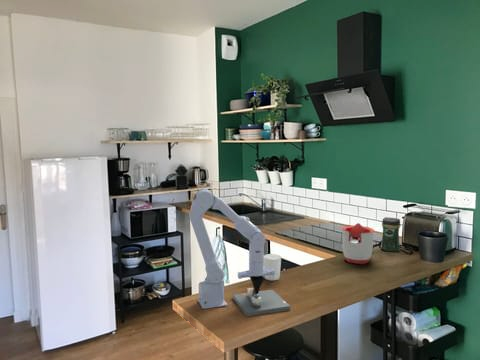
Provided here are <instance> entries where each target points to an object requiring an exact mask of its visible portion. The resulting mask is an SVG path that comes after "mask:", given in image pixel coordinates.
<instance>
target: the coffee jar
mask: <svg viewBox="0 0 480 360" xmlns="http://www.w3.org/2000/svg"><path fill="white" fill-rule="evenodd" d="M400 219H401V218H395V217H387V216H385V217H383V219H382V222H381V227H382V238H381V246H380V248H381V250H382V249H383V250H382V251H386V250H387V252H393V251H394V252H399V251H400V236H399V235H400V228H401V220H400ZM394 252H393V253H394Z"/></svg>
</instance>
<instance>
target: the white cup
mask: <svg viewBox="0 0 480 360" xmlns="http://www.w3.org/2000/svg"><path fill="white" fill-rule="evenodd" d="M281 264H282V256H281V255H279V254H278V253H277V254H276V253H269V254H264V269H274V270H275V276H272V275H268V276H264V279H265V280H268V281H278V280H279V279H280V277H281V276H280V275H281V266H282V265H281Z"/></svg>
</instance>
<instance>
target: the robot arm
mask: <svg viewBox="0 0 480 360" xmlns="http://www.w3.org/2000/svg"><path fill="white" fill-rule="evenodd" d="M210 208H211V209H212V210H218V211H220V212H221V213H222V214H223V215H224V216H225V217H227V218H228V219H229V220H231V221H232V223H233V228H234V229H235V230H236V231H237V232H238V233H240V234H241V235H242V236H243V237H244V238H246V239H247V240H248V241H249V248H248V249H249V250H248V270H244V271H240V272H239V271H238V272H237V278H238V279H239V280H240V279H244V278H245V279H246V278H249V279H250V281H251V283H252V286H253V288H254V290H255V292H256V293H258V292H259V291H260V288H261V287H262V284H263V282H264V281H265V280H264V279H265V276H268V275H272V276H275V270H274V269H264V255H265V249H264V248H265V247H264V246H265V244H266V241H267V239H266V236H265V234H264V233H263V232H262V231H261V230H260V228H259V226H257V225H255V224H254V223H252V221H250V220H251V219H250V218H249V217H248V216H245V215H239V214H237V213H236V212H235V211H234V210H233V209H232V208H231V207H230V206H229V204H227V203H226V202H225V201H224V200H223V199H222V198H220V196H218V195H216V194H215V193H212V192H211V190H210V189H207V188H205V187H204V188H199V189H198V190H197V191H196V192H195V194H194V196H193V198H192V203H191V206H190V210H189V213H188V218H189V220H190V224H191V226H192V229H193V232H194V234H195V237H196V240H197V243H198V246H199V249H200V252H201V255H202V258H203V260H204V261H203V262H204V264H205V267H204V268H205V272H206V276H205V278H204V281H201V282H199V283H198V300H197V301H198V303H199V305H200V306H201V308H202V309H204V310H206V309H212V308H219V307H227V306H228V303H227V302H226V300H225V292H224V291H225V290H224V289H225V279H224V277H225V273H224V271H223V268H222V264H221V262H219V260H217V257H216V255H215V252H214V251H215V250H214V248H213V245H212V242H211V239H210V237H209V233H208V230H207V228H206V225H205V222H204V219H203V217H204V215H205V213H206V212H207V211H208V210H209V209H210Z"/></svg>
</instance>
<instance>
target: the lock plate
mask: <svg viewBox="0 0 480 360" xmlns="http://www.w3.org/2000/svg"><path fill="white" fill-rule="evenodd" d="M259 296H261V297H262V301H261V307H260V308H254V307H252V302H251V300H250V299H249V297H248V295H247V292H245V293H243V292H242V293H235V294H232V299H233V301H234V302H235V303H236V305H237V306H238V308H240V310H241V311H242V312H243V314H244V315H245V316H246V317H252V316H259V315H264V314H265V315H266V314H272V313H278V312H285V311H290V310H291V305H290V304H289V303H288V302H287V301H285V299H283V298H282V297H281V296H280V295H279V294H278V293H277V292H276V291H275V290H273V289H266V290H259V292H258V293H255V294H254V297H255V298H258V297H259Z"/></svg>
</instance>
